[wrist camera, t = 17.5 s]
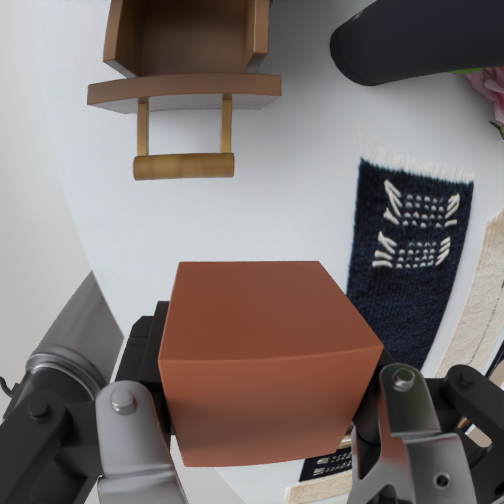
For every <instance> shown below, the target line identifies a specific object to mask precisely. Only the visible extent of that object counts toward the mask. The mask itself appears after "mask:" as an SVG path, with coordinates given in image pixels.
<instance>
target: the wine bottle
mask: <svg viewBox="0 0 504 504" xmlns="http://www.w3.org/2000/svg"><path fill="white" fill-rule="evenodd" d="M330 51H331V56H332V58H333V60H334V62H335V64H336V66H337V68H338V69H339V70H340V71H341V72H342V73H343V74H344V75H345V76H346V77H347V78H349V79H350V80H352V81H353V82H355V83H358V84H361V85H364V86H375V85H380V84H384V83H388V82H393V81H397V80H402V79H407V78H412V77H418V76H423V75H429V74H435V73H442V72H449V71H456V70H465V69H474V68H485V67H500V66H504V0H377V1H375V2H374V3H372V4H371V5H369V6H368V7H366V8H365V9H363V10H362V11H360V12H359V13H358V14H356V15H355V16H353V17H352V18H351V19H349V20H348V21H347V22H345V23H344V24H342V25H341V26H340V27H338V28H337V29H336V30H335V32H334V33H333V35H332V36H331V41H330Z"/></svg>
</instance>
